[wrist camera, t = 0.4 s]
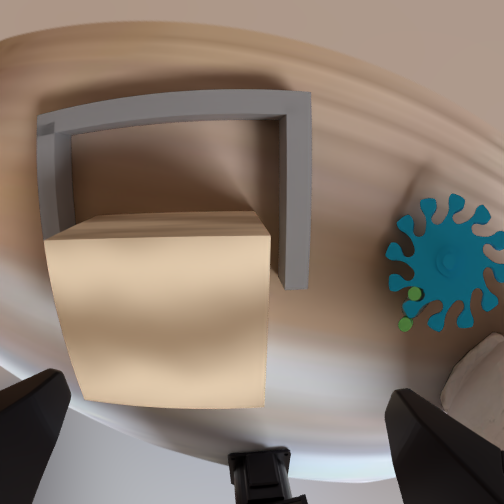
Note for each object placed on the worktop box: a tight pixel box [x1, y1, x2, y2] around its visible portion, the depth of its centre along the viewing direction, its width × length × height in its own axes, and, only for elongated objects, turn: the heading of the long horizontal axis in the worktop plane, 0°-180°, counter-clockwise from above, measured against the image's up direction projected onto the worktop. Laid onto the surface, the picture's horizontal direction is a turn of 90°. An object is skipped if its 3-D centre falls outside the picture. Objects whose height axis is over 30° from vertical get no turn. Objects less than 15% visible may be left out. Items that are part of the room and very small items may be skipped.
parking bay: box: [37, 89, 312, 290], centre depth 18 cm, size 12×18×2 cm
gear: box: [385, 193, 504, 332], centre depth 21 cm, size 11×6×10 cm
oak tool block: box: [44, 211, 271, 409], centre depth 18 cm, size 10×11×8 cm
